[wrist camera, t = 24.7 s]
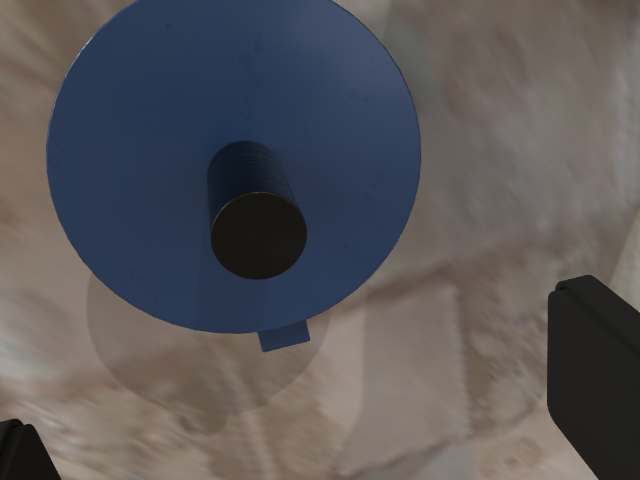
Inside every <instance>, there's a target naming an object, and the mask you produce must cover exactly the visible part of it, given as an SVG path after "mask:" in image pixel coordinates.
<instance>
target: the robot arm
mask: <svg viewBox="0 0 640 480" xmlns="http://www.w3.org/2000/svg"><path fill="white" fill-rule="evenodd" d="M547 406H548V410H549V413H550V415H551V417H552V419H553V421H554V422H555V424H556V425H557V427H558V428H559V429H560V430H561V432H562V433H563V434H564V436H565V437H566V438H567V439H568V441H569V442H570V443H571V445H572V446H573V447H574V448H575V450H576V451H577V452H578V454H579V455H580V456H581V457H582V459H583V460H584V461H585V463H586V464H587V465H588V466H589V468H590V469H591V470H592V472H593V473H594V474H595V475H596V477H597V478H598V479H599V480H640V313H639V312H638V311H637V310H636V309H634V308H633V307H632V306H631V305H629V304H628V303H627V302H626V301H624V300H623V299H622V298H620V297H619V296H618V295H617V294H615V293H614V292H613V291H612V290H610V289H609V288H608V287H607V286H605V285H604V284H603V283H602V282H600V281H599V280H598V279H596V278H595V277H593V276H592V275H584V276H580V277H576V278H572V279H568V280H564V281H560V282H559V283H557V285H556V287H555V291H553V292H551V293H550V294H549V296H548V352H547ZM0 480H61V478H60V476H59V474H58V472H57V470H56V468H55V466H54V464H53V462H52V460H51V458H50V456H49V454H48V452H47V450H46V449H45V447H44V445H43V443H42V441H41V439H40V437H39V435H38V433H37V431H36V429H35V428H34V426H33V425H31V424H26V425H23V423H22V422H21V421H20V420H19V419H10V420H6V421H3V422H0Z"/></svg>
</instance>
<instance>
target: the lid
mask: <svg viewBox="0 0 640 480" xmlns="http://www.w3.org/2000/svg"><path fill="white" fill-rule="evenodd" d="M46 161H47V175H48V181H49V187H50V193H51V197H52V200H53V203H54V206H55V210H56V213H57V216H58V219H59V221H60V223H61V225H62V227H63V229H64V231H65V233H66V235H67V237H68V239H69V241H70V243H71V244H72V246H73V247H74V249H75V250H76V252H77V253H78V255H79V256H80V258H81V259H82V261H83V262H84V263H85V264H86V265H87V266H88V267H89V269H90V270H91V271H92V272H93V273H94V274H95V276H96V277H97V278H98V279H99V280H100V281H102V282H103V283H104V284H105V285H106V286H107V287H108V288H109V289H111V290H112V291H113V292H114V293H115V294H117V295H118V296H120V297H121V298H122V299H124V300H125V301H127V302H128V303H130V304H131V305H133V306H134V307H136V308H138V309H140V310H142V311H144V312H146V313H148V314H149V315H151V316H153V317H156V318H158V319H161V320H164V321H166V322H169V323H172V324H174V325H178V326H182V327H186V328H190V329H194V330H199V331H206V332H213V333H235V334H240V333H252V332H262V331H267V330H272V329H277V328H282V327H285V326H288V325H292V324H295V323H298V322H301V321H304V320H306V319H308V318H310V317H313V316H315V315H317V314H320V313H322V312H323V311H325V310H327V309H329V308H330V307H332V306H334V305H335V304H337V303H339V302H340V301H342V300H343V299H344V298H346V297H347V296H349V295H350V294H351V293H353V292H354V291H355V290H357V289H358V288H359V287H360V286H361V285H362V284H363V283H364V282H365V281H366V280H367V279H368V278H369V277H371V276H372V274H373V273H374V272H375V271H376V270H377V269H378V267H379V266H380V265H381V264H382V263H383V262H384V260H385V259H386V258H387V256H388V255H389V253H390V252H391V250H392V249H393V247H394V246H395V244H396V243H397V241H398V239H399V237H400V235H401V233H402V231H403V229H404V227H405V225H406V223H407V221H408V218H409V215H410V213H411V210H412V207H413V204H414V201H415V197H416V192H417V188H418V184H419V177H420V166H421V137H420V131H419V125H418V119H417V113H416V110H415V107H414V103H413V100H412V97H411V94H410V91H409V89H408V87H407V84H406V82H405V80H404V78H403V76H402V74H401V71H400V69H399V68H398V66H397V65H396V63H395V62H394V60H393V59H392V57H391V55H390V54H389V52H388V51H387V49H386V48H385V47H384V46H383V45H382V43H381V42H380V41H379V40H378V39H377V38H376V36H375V35H374V34H373V33H372V32H371V31H370V30H369V29H368V28H367V27H366V26H365V25H364V24H363V23H361V22H360V21H359V20H358V19H357V18H356V17H355V16H354V15H352V14H351V13H350V12H348V11H347V10H345V9H344V8H342V7H341V6H339V5H338V4H336V3H335V2H333V1H332V0H137V1H135V2H134V3H132V4H130V5H129V6H127V7H126V8H124V9H122V10H121V11H119V12H118V13H117V14H116V15H115V16H114V17H112V18H111V19H110V20H109V21H108V22H106V23H105V24H104V25H103V26H102V27H100V28H99V29H98V31H97V32H96V33H95V34H94V35H93V36H92V37H91V39H90V40H89V41H88V42H87V43H86V44H85V45H84V47H83V48H82V49H81V50H80V52H79V53H78V55H77V57H76V58H75V60H74V61H73V63H72V64H71V66H70V68H69V69H68V71H67V72H66V75H65V77H64V79H63V81H62V84H61V86H60V88H59V90H58V93H57V95H56V98H55V102H54V105H53V109H52V112H51V116H50V120H49V126H48V135H47V143H46Z"/></svg>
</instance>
